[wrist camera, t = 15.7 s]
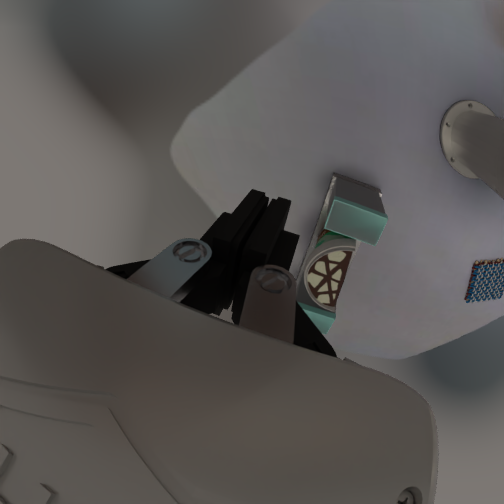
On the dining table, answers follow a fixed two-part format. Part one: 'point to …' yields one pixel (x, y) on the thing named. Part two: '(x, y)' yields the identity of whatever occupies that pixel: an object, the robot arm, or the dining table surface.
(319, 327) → the mounted module
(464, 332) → the dining table surface
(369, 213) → the block
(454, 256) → the dining table surface
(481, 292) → the woven mat
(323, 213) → the rail
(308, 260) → the food container
